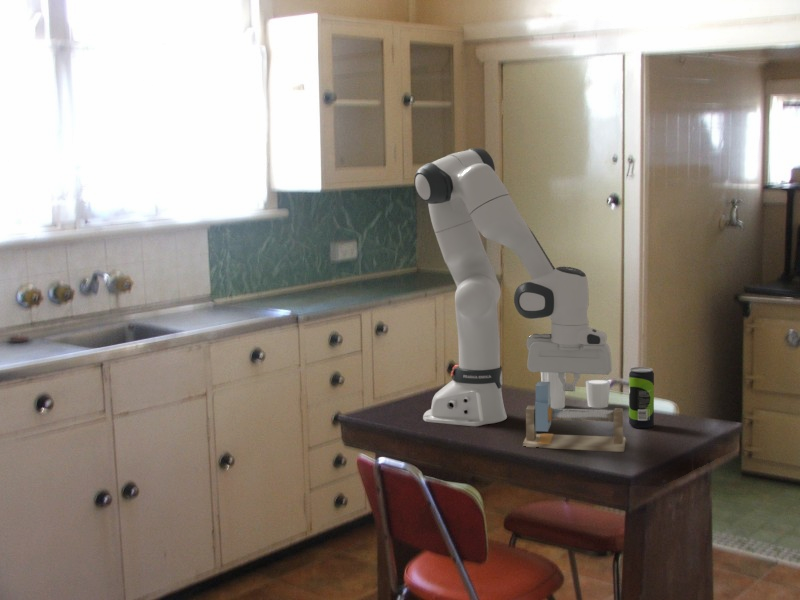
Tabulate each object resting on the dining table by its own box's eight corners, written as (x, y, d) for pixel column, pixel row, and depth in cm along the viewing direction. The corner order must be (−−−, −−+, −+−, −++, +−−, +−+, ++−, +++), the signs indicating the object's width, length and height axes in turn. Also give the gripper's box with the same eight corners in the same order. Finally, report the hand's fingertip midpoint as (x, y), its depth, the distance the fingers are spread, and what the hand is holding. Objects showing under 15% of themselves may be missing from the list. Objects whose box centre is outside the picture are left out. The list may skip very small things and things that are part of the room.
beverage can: (658, 425, 276) (658, 368, 274) (645, 430, 271) (645, 372, 270) (637, 422, 280) (637, 365, 278) (624, 426, 276) (624, 369, 274)
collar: (535, 431, 258) (534, 386, 257) (538, 424, 265) (538, 380, 263) (547, 431, 257) (547, 386, 256) (550, 424, 264) (550, 380, 263)
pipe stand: (522, 447, 258) (522, 411, 257) (527, 438, 267) (527, 402, 266) (623, 451, 252) (623, 414, 251) (625, 441, 261) (625, 405, 260)
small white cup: (582, 403, 302) (582, 379, 302) (606, 402, 303) (606, 378, 302) (589, 409, 296) (589, 384, 295) (613, 408, 296) (613, 383, 295)
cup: (544, 403, 304) (543, 354, 302) (571, 405, 300) (571, 356, 298) (535, 410, 297) (534, 359, 295) (563, 412, 293) (562, 361, 291)
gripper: (524, 335, 256) (524, 391, 258) (611, 338, 251) (610, 395, 253) (528, 331, 262) (527, 386, 264) (612, 333, 257) (611, 389, 259)
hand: (569, 390), depth 258 cm, fingers closed
